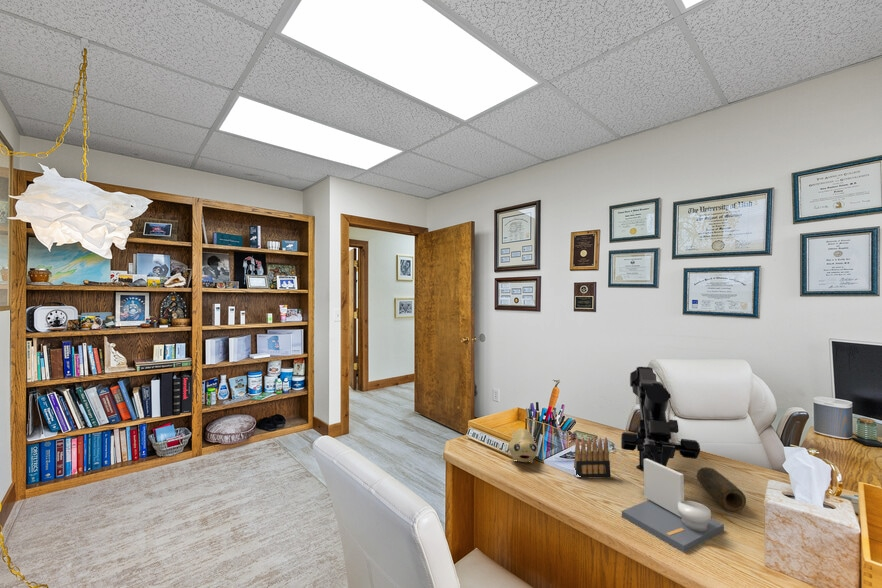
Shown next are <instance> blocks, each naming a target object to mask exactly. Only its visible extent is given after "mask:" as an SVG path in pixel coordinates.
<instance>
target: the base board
mask: <svg viewBox="0 0 882 588" xmlns="http://www.w3.org/2000/svg"><path fill="white" fill-rule="evenodd" d="M621 518H623V519H624V520H627V521H628V522H630V523H632V524H633V525H635V526H637V527H638V528H640V529H642V530H644V531H646V532H647V533H649V534H651V535H653V536H654V537H656V538H658V539H659V540H661V541H663V542H665V543H666V544H668V545H670V546H672V547H673V548H675V549H677V550H678V551H680V552H682V553H686V552H688V551H690V550H692V549H693V548H695V547H697V546H699V545H701V544H703V543H704V542H705V543H706V541H708V540H710V539H711V538H713V537H714V538H715V536H717V535H720V534H721V533H722V532H725V524H724V523H721V522H720V521H718V520H715V519H713V518H711V521H710V522H709V523H696V522H692V521H690V520H687V519H685V518H684V517H680V516H678V515H676V514H674V513H673V512H671V511H669V510H667V509H665V508H663V507H662V506H660V505H658V504H656V503H654V502H653V501H651V500H649V499H647V500H646V501H643V502H641V503H640V502H639V503H638V504H635V505H633V506H631V507H628V508H626V509H624V510H621Z"/></svg>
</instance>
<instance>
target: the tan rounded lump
mask: <svg viewBox="0 0 882 588" xmlns="http://www.w3.org/2000/svg"><path fill="white" fill-rule="evenodd" d="M511 436H512V437H513V439H512V440H511V441H510V442H509V441H508V443H509V444H508V443H507V444H508V445H507V448H508V451H509V453H510V455H511V456H512V458H513V459H514V460H517V461H518V462H521V463H529V461H530V462H533V463H534V459H535V458H536V456H537V454H538V452H539V447H538V444H537V442H536V440H535V438H534V436H533V435H532V434H531V433H530V431H529V430H528V429H525V428H518V429H516V430H515V431H514V432H513V433H512V435H511ZM532 436H533V437H532ZM533 438H534V439H533ZM534 440H535V441H534ZM535 442H536V443H535ZM536 444H537V445H536ZM514 460H513V461H514Z"/></svg>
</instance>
